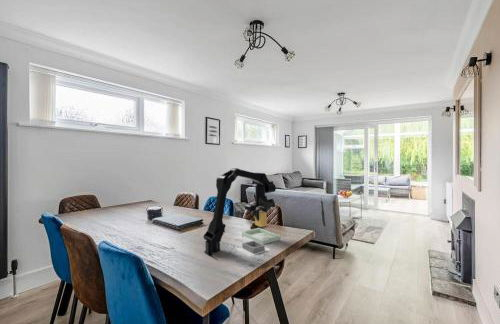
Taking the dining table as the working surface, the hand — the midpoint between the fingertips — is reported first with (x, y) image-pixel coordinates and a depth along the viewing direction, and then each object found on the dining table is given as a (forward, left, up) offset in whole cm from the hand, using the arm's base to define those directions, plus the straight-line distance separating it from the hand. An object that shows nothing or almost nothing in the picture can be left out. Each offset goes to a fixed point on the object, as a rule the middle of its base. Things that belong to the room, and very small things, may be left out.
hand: (260, 220), depth 149 cm
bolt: (+12, +19, -12) cm, 26 cm away
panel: (-15, -13, -11) cm, 23 cm away
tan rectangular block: (0, 0, -3) cm, 3 cm away
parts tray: (0, 0, -11) cm, 11 cm away
